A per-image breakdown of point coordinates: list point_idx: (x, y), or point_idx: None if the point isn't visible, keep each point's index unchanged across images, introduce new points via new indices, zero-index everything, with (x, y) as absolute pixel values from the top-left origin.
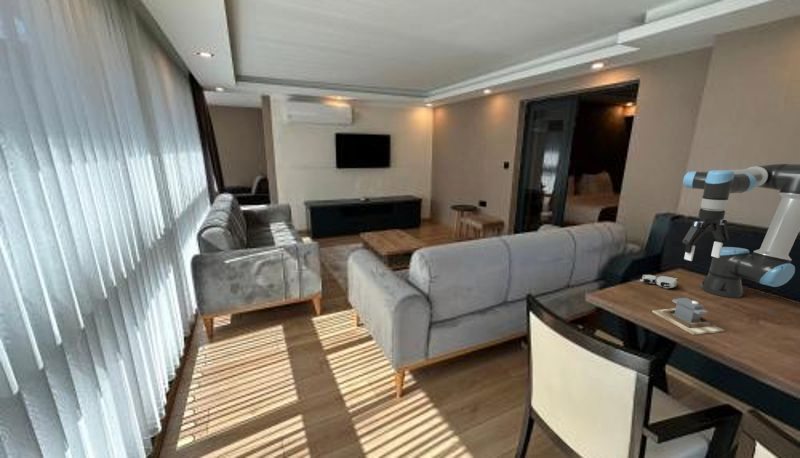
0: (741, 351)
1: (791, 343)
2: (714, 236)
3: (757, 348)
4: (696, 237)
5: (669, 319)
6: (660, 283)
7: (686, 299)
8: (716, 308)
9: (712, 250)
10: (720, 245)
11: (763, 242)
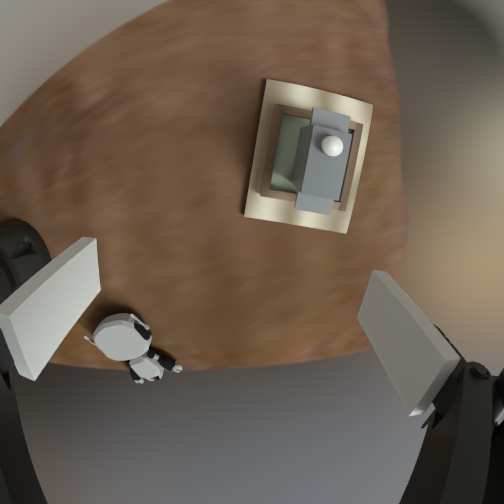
0: (336, 20)
1: (159, 7)
2: (22, 436)
3: (278, 10)
4: (483, 456)
5: (358, 177)
6: (149, 338)
7: (316, 182)
8: (119, 187)
9: (79, 315)
10: (28, 303)
11: None
